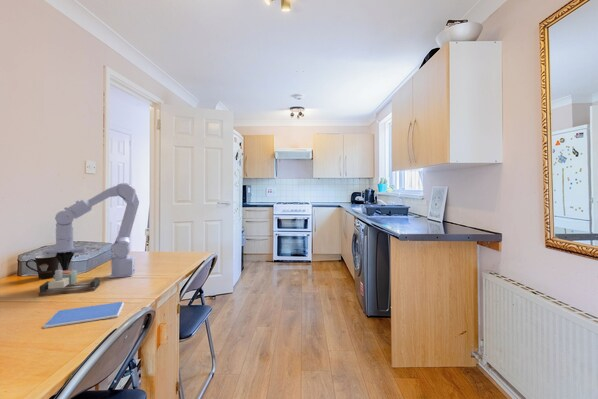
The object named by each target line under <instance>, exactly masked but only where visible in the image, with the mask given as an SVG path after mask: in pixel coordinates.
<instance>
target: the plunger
mask: <svg viewBox="0 0 598 399" xmlns="http://www.w3.org/2000/svg"><path fill="white" fill-rule="evenodd" d="M72 271H73V270H64V271H63V270H62V274H69V273H71V272H72Z"/></svg>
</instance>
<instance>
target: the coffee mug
mask: <svg viewBox="0 0 598 399" xmlns="http://www.w3.org/2000/svg"><path fill="white" fill-rule="evenodd" d="M56 255H57V254H47V255H43V254H40V255H36V256H35V257H34V259H33V258H32V259H28V260H26V261H25V267H27V268H28V269H30V270H31V271H33V272H37V275H38V279H39V280H48V279H54V275H55V270H59V266H60V265H59V264H60V262H59V261H58V259H57V258H56V257H55V256H56ZM31 261H32V262H35V265H36V269H35V268H33V267H31V266H30V265H28V263H29V262H31Z"/></svg>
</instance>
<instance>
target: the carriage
mask: <svg viewBox="0 0 598 399" xmlns="http://www.w3.org/2000/svg"><path fill="white" fill-rule="evenodd" d="M62 271H63V270H62V269H58V270H55V279H54V278H52V279H51V280H50V282H48V289H54V288H64V287H65V286H67V285H68V284H69V278H62Z"/></svg>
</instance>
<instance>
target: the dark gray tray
mask: <svg viewBox="0 0 598 399" xmlns="http://www.w3.org/2000/svg"><path fill="white" fill-rule="evenodd" d="M50 281H51V280H50ZM50 281H46V282H44V283H42V284H41V285H39V292H38V293H37V294H38V297H44V296H54V295H65V294H76V293H87V292H95V291H96V290H97V288H98V287H100V285H101V281H100V277H98V276H97V277H96V276H95V277H94V278H93V279H92V280H91V281H90V282H82V283H74V284H69V285H67V286H65V287H64V288H54V289H48V282H50Z"/></svg>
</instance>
